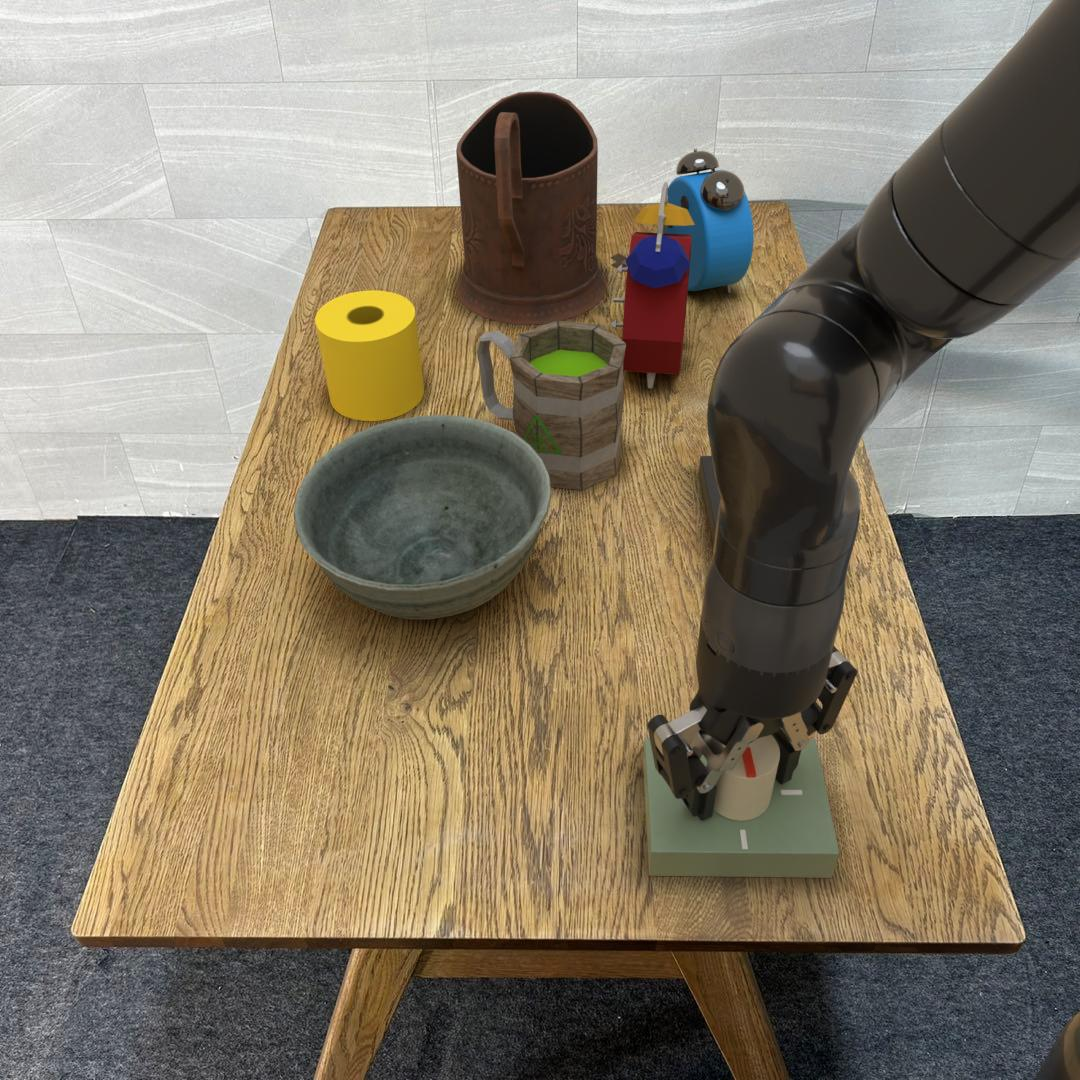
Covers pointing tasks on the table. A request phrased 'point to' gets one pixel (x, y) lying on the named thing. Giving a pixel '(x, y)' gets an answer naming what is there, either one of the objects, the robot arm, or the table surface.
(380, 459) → the bowl
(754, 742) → the dial knob
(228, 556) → the table surface
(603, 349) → the mug
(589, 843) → the table surface
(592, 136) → the tea glass holder
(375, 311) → the yellow toilet paper roll
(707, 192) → the alarm clock
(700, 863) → the dial panel
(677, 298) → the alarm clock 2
